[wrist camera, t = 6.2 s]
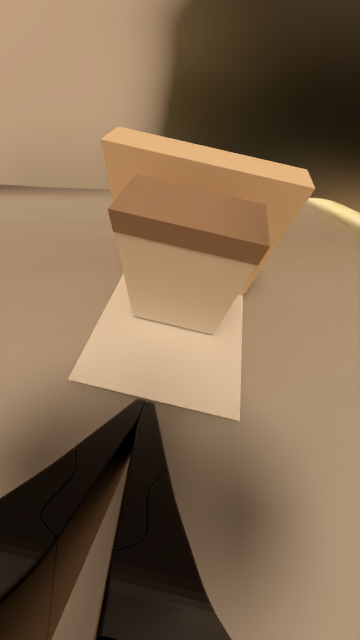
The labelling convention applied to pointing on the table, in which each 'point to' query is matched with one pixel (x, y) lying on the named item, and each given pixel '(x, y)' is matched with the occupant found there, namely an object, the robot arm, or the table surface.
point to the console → (168, 340)
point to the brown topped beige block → (186, 250)
